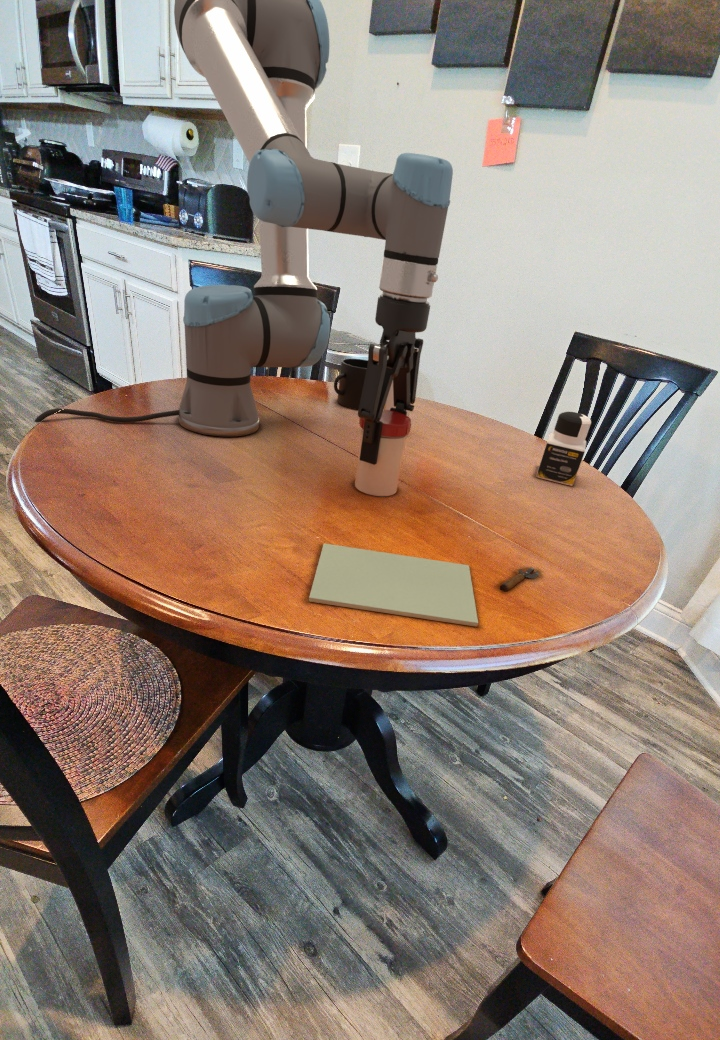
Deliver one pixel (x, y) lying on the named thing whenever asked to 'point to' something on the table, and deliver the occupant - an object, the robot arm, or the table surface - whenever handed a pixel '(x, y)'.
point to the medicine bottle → (565, 449)
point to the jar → (381, 468)
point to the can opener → (518, 579)
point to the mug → (351, 382)
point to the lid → (392, 424)
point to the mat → (394, 585)
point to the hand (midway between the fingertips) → (380, 455)
